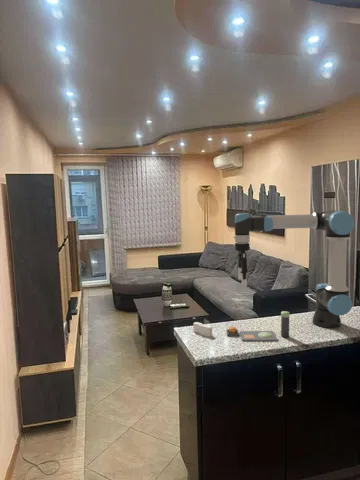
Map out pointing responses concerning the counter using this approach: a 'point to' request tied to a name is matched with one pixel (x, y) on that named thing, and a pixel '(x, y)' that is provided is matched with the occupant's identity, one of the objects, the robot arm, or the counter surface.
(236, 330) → the button housing
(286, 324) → the marker
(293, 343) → the counter surface
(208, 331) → the white block piece
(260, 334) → the board
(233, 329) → the button
